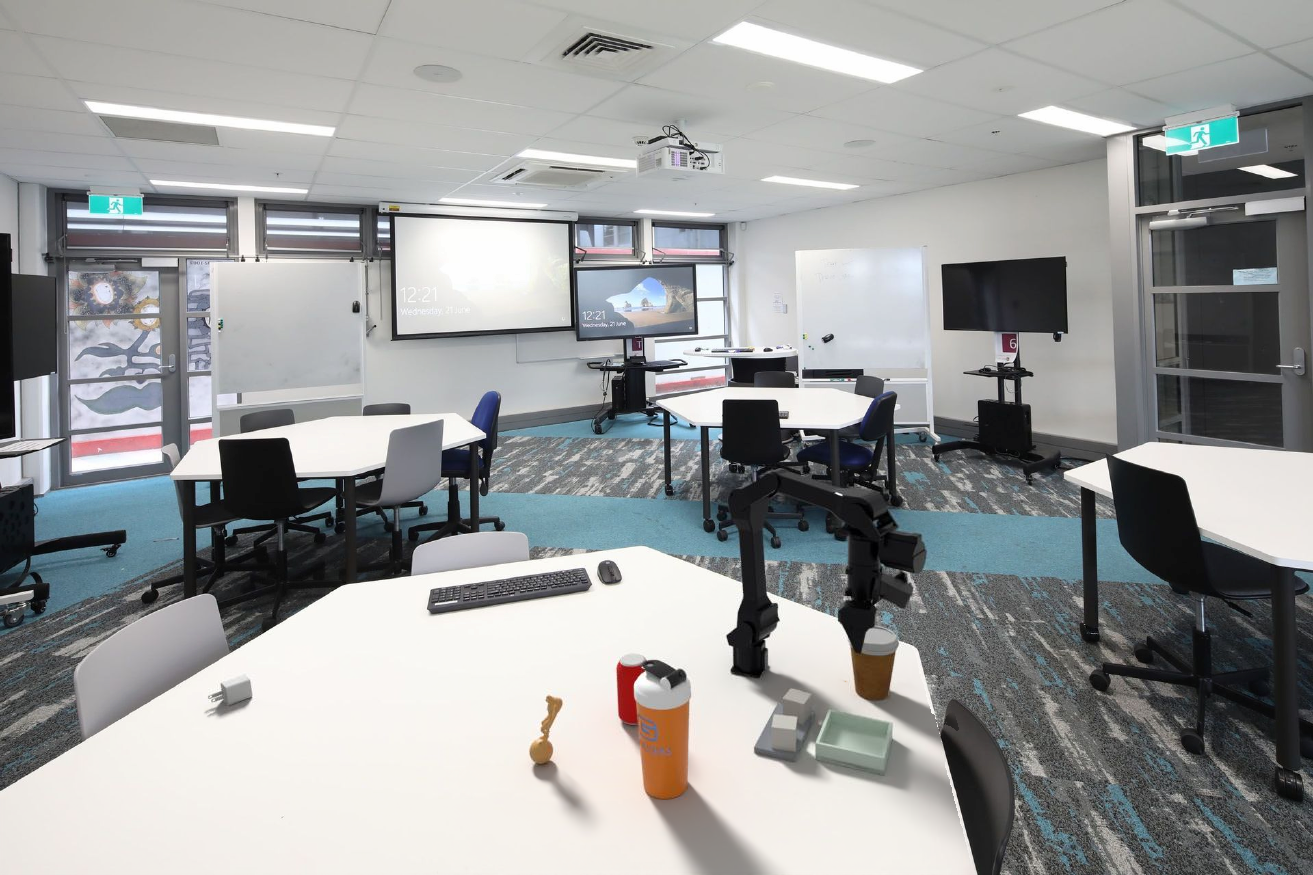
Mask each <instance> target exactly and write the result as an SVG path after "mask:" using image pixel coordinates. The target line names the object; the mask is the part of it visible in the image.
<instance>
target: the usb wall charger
mask: <svg viewBox="0 0 1313 875" xmlns="http://www.w3.org/2000/svg"><path fill="white" fill-rule="evenodd" d="M252 689H253V688H252V683H251V679H250V678H249V677H248V676H247V675H246V674H241V675H238V676H237V677H234V678H229V679H227V680H225V681H221V682H220V691H217V692H215V693H212V694H210V695H208V696H207V698H208V700H211V703H215V702H218V701H222V700H223V702H224V703H225V704H226V705H227V706H231V705H233V704H237V703H239V702H240V703H241V701H244V700H248V699H249V698H253V691H252Z"/></svg>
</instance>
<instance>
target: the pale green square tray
mask: <svg viewBox="0 0 1313 875" xmlns="http://www.w3.org/2000/svg"><path fill="white" fill-rule="evenodd" d="M893 723H894V722H892V721H887V720H882V719H877V718H872V717H868V716H863V715H859V714H858V715H857V714H852V713H847V712H843V711H838V710H833V709H828V710H827V713H826V716H825V718H824V720H823V723H822V726H821V729H820V731H819V734H818V736H817V738H816V741H815V746H814V747H815V749H814V750H815V753H814V756H815V757H814V758H815V760H816V761H820V762H825V763H829V764H833V765H836V766H837V765H838V766H842V767H846V768H851V769H854V770H858V771H863V772H868V773H872V774H876V775H881V776H885V772H886V767H887V763H888V760H889V754H890V749H891V746H892V740H893V727H894V724H893Z"/></svg>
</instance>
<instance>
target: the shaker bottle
mask: <svg viewBox="0 0 1313 875" xmlns="http://www.w3.org/2000/svg"><path fill="white" fill-rule="evenodd" d="M646 660H647V659H646ZM642 669H643V670H645V672H644V673H642V674H641V675H640V676H639V677H638V679H637V680H636V682H635V683H634V698H635V700H636V706H637V717H638V725H637V726H638V727H637V728H638V736H639V738H638V739H639V749H640V760H641V761H640V763H641V772H642V782H643V789H644V791H645V792H646V793H647V794H648V795H649V796H651V797H653V798H656V799H661V800H670V799H674V798H677V797H679V796H681V795H682V794H684V793H685V791H686V790H687V788H688V780H689V779H688V775H689V739H690V738H689V737H690V735H689V733H690V732H689V730H690V700H691V697H692V690H691V688H692V686H691V685H692V684H691V680H690V679H689V678H688V675H687V672H686V671H685V670H684V669H683V668H678V669H676V668H674V667H672V666H671V665H669V664H668V663H666V662H664V661H661V660H658V659H648V660H647V661H645V662H643V663H642Z"/></svg>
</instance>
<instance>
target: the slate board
mask: <svg viewBox="0 0 1313 875" xmlns="http://www.w3.org/2000/svg"><path fill="white" fill-rule="evenodd" d="M774 714H777V715H783V703H778V702H777V703H776V705H775V707H774V709H773V711H772V713H771V715H770V717H769V718H768V720H767V722H766V724H765V726H764V727H763V730H762V731H761V733H760V735H759V737H758V739H757V740H756V743H755V744H754V746H753V752H754V753H755V754H760V755H763V756H767V757H770V758H771V757H772V758H775V759H776V758H777V759H780V760H784V761H788V762H793V763H795V762H796V760H797V757H798V756H799V753H800V750H801V748H802V746H803V743H804V742H805V739H806V737H807V734H808V732H809V729H810V727H811V725H812V723H813V720H814V718H815V710H813V709H812V714H811V716H810V717H809V718H808V720H807V721H806V722H805V724H804V725H803V724H800V723H797V744H796V752H794V751H786V750H778V749H772V728H771V727H772V722H773V716H774Z"/></svg>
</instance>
